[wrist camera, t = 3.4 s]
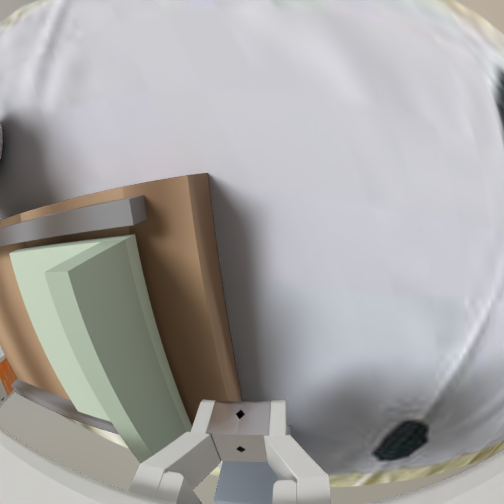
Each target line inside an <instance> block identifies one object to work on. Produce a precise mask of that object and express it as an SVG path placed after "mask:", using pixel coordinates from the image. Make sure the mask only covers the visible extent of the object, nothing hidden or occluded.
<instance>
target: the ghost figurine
mask: <svg viewBox="0 0 504 504" xmlns="http://www.w3.org/2000/svg"><path fill="white" fill-rule="evenodd" d="M2 147H3V134H2V127H1V123H0V159H1V155H2Z"/></svg>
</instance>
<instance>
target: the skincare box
mask: <svg viewBox="0 0 504 504" xmlns="http://www.w3.org/2000/svg"><path fill="white" fill-rule="evenodd" d="M17 379H18V378H17V376H16V375H15V373H14V371H13V369H12V367H11V366H10V364H9V362H8V360H7V358H6V356H5V354H4V352H3V350H2V348H1V346H0V407H1V406H2V405H3V403H4V402H5V401H6V400H7V399H8V398H9V397H10V396H11V395H12V394H13V393H14V392H15V390H14V389H13V387H12V386H11V385H12V384H13V383H14V382H15V381H16V380H17Z"/></svg>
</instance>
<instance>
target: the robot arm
mask: <svg viewBox="0 0 504 504" xmlns="http://www.w3.org/2000/svg"><path fill="white" fill-rule="evenodd" d="M221 461H242V462H268V464H269V465H270V467H271V468H272V470H273V471H274V473H275V474H276V476H277V477H278V479H279V481H277V482H275V483H274V486H273V498H272V504H331V495H330V483H329V476H328V475H327V474H326V473H325V472H324V471H323V470H322V469H321V468H320V467H319V466H318V464H317V463H316V462H315V461H314V460H313V459H312V458H311V457H310V456H309V455H308V454H307V453H306V452H305V451H304V449H303V448H302V447H301V446H300V445H299V444H298V443H297V442H296V441H295V440H294V438H293V437H292V436H291V435H287V409H286V400H274V401H220V400H202V401H201V403H200V405H199V408H198V411H197V414H196V417H195V420H194V423H193V426H192V429H191V432H186V433H184V434H183V435H182V436H180V437H179V438H177V439H176V440H175V441H173V442H172V443H170V444H169V445H168V446H166V447H165V448H163V449H162V450H160V451H159V452H158V453H156V454H155V455H153V456H152V457H150V458H149V459H147V460H146V461H144V462H142V463H141V464H140V466H139V468H138V470H137V472H136V474H135V477H134V479H133V482H132V484H131V486H130V488H129V490H128V491H126V490H123V489H120V488H117V487H115V486H112V485H109V484H106V483H104V482H101V481H98V480H96V479H93V478H91V477H88V476H86V475H84V474H81V473H79V472H77V471H75V470H73V469H70V468H68V467H66V466H64V465H62V464H60V463H58V462H56V461H54V460H52V459H50V458H49V457H47V456H45V455H43V454H41V453H40V452H38V451H36V450H34V449H33V448H31V447H29V446H28V445H26V444H24V443H23V442H21V441H20V440H18V439H17V438H15V437H14V436H12V435H10V434H9V433H8V432H6V431H5V430H3V429H2V428H1V427H0V504H202V502H201V501H200V500H199V498H198V497H197V495H196V494H195V493H194V492H193V489H194V488H195V487H196V486H197V485H198V484H199V483H200V482H202V481H203V480H204V479H205V477H207V475H209V474H210V473H211V472H212V471H213V470H214V469H215V468H216V467H217V466H218V464H219V463H220V462H221ZM364 504H504V449H503V450H502V451H500V452H498V453H497V454H495V455H493V456H492V457H490V458H488V459H486V460H484V461H482V462H480V463H479V464H477V465H475V466H473V467H471V468H469V469H466V470H464V471H462V472H460V473H458V474H456V475H453V476H451V477H449V478H446V479H444V480H441V481H439V482H436V483H434V484H431V485H428V486H426V487H423V488H420V489H417V490H414V491H411V492H407V493H404V494H401V495H397V496H394V497H390V498H386V499H383V500H378V501H374V502H370V503H364Z"/></svg>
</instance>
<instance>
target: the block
mask: <svg viewBox="0 0 504 504" xmlns="http://www.w3.org/2000/svg"><path fill="white" fill-rule="evenodd" d="M287 435H291V429H290V425H287ZM277 481H279V479H278V477H277V476H276V474H275V473H274V471H273V470H272V468H271V467H270V465H269V464H268V462H242V461H223V463H222V467H221V471H220V475H219V480H218V485H217V488H216V492H215V497H214V501H215V503H216V504H272V498H273V486H274V483H275V482H277Z"/></svg>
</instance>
